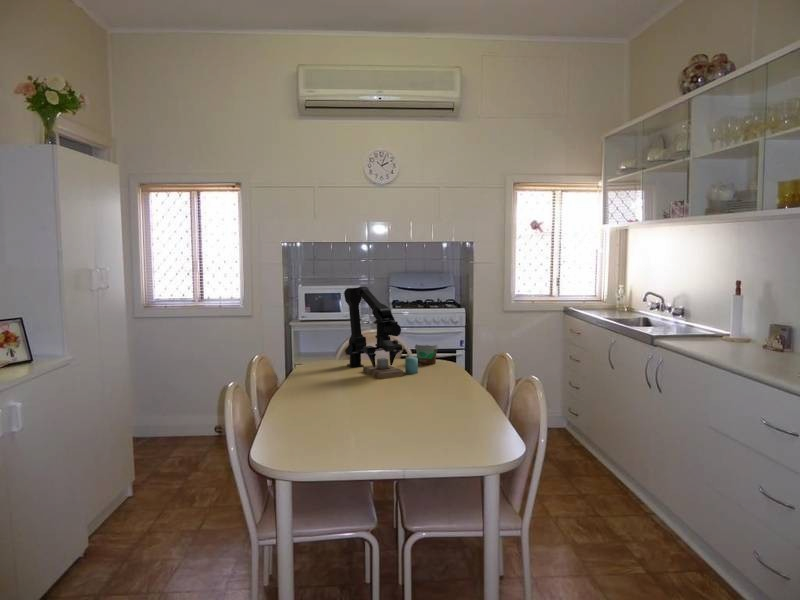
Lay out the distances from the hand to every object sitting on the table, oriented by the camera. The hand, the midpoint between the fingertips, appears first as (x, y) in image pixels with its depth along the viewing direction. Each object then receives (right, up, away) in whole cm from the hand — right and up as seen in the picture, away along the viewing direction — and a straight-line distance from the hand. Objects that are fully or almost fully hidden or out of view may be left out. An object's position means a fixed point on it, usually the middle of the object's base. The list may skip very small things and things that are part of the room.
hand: (382, 366), depth 268 cm
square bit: (0, -4, 0) cm, 4 cm away
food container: (+21, -2, +22) cm, 30 cm away
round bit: (+14, -3, +2) cm, 14 cm away
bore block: (0, -4, 0) cm, 4 cm away
